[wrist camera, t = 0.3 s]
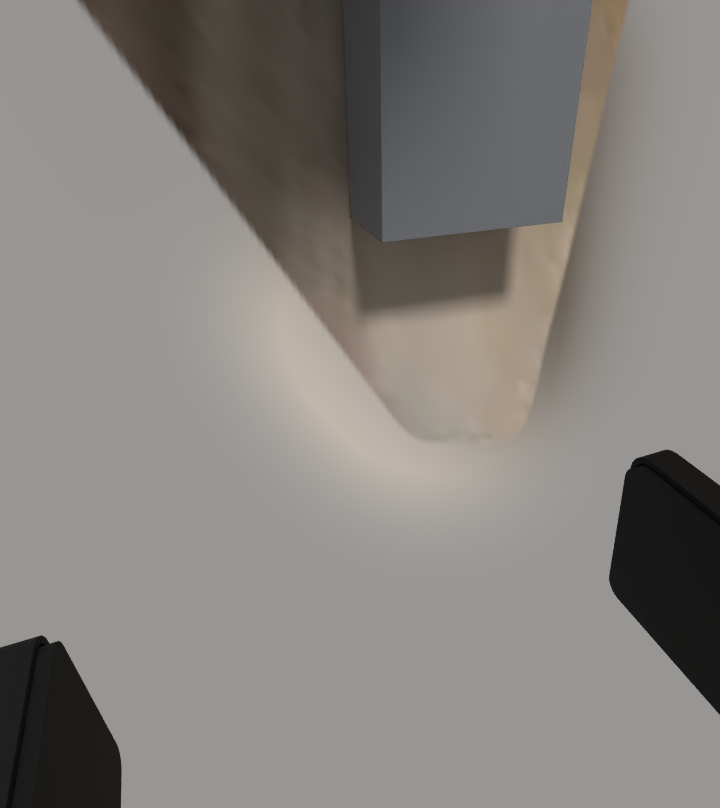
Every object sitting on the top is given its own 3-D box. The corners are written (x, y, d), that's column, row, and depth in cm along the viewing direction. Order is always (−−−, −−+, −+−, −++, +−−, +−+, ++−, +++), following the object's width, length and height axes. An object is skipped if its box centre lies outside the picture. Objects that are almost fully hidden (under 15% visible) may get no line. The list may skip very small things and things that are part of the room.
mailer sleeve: (342, -19, 32) (380, -31, 27) (530, -20, 35) (596, -31, 30) (350, 217, 38) (382, 242, 33) (510, 201, 41) (562, 221, 36)
